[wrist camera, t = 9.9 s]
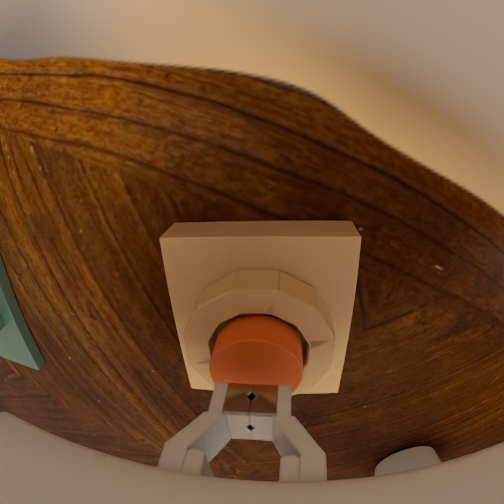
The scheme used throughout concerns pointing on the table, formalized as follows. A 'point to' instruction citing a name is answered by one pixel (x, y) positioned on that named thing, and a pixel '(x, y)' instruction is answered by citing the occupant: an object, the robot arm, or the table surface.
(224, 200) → the table surface
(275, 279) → the call button
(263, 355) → the button
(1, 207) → the table surface
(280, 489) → the robot arm
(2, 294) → the green lever stand
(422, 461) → the white round tub
